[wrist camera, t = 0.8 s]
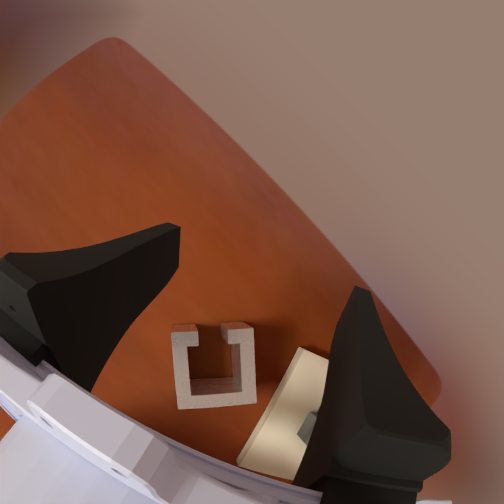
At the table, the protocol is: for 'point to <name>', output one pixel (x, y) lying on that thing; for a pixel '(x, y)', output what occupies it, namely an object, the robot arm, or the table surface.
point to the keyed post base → (287, 419)
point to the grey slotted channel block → (215, 389)
